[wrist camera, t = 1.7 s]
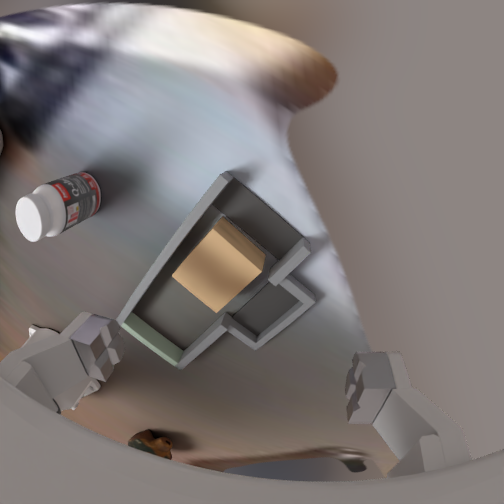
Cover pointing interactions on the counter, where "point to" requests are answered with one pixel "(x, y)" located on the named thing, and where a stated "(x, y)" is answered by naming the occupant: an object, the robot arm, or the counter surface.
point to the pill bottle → (58, 206)
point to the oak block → (220, 265)
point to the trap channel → (262, 304)
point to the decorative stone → (1, 142)
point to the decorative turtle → (151, 444)
